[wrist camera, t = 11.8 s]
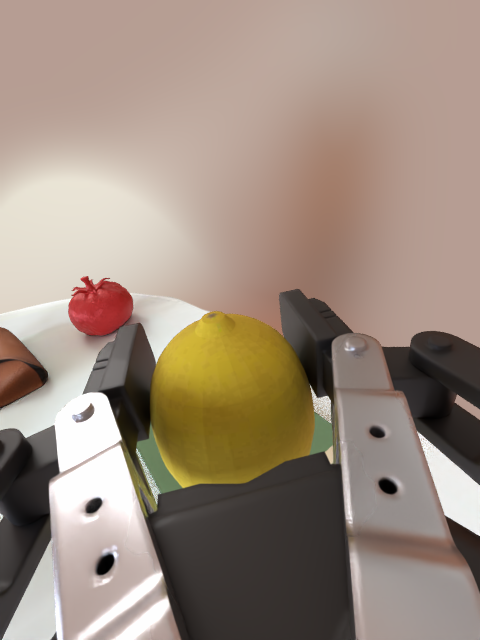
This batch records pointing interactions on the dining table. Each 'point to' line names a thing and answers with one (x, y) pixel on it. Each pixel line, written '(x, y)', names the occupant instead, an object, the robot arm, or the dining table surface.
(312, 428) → the lemon
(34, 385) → the sunglasses case
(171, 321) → the dining table surface
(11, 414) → the dining table surface
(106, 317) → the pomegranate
